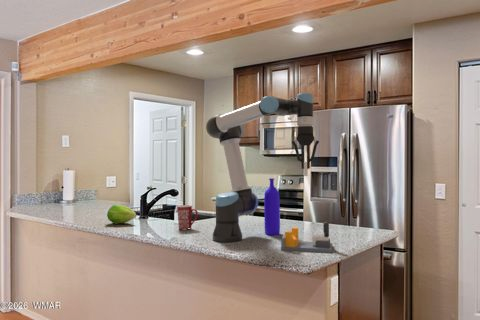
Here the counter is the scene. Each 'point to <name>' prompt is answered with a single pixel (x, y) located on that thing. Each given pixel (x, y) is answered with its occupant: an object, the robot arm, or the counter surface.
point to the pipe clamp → (291, 238)
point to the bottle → (272, 210)
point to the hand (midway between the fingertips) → (305, 175)
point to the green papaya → (120, 214)
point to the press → (308, 246)
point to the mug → (185, 216)
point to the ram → (322, 237)
